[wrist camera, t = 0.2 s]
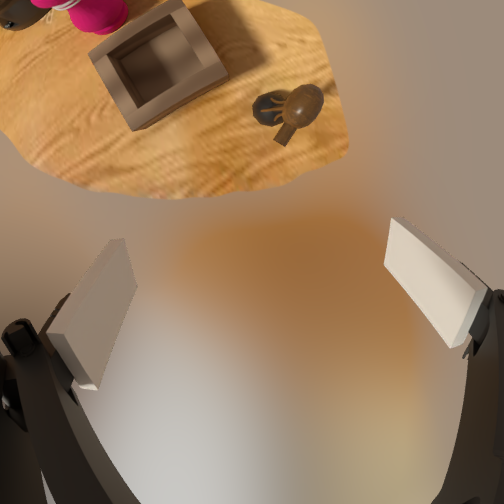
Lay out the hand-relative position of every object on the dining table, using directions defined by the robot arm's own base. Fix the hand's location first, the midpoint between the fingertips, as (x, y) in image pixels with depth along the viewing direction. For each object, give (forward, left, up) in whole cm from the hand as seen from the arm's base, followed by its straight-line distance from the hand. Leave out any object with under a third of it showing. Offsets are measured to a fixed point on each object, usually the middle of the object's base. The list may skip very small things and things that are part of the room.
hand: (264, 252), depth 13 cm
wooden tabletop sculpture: (-4, +6, -28) cm, 29 cm away
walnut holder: (-17, -3, -28) cm, 33 cm away
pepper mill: (-30, -6, -28) cm, 42 cm away
